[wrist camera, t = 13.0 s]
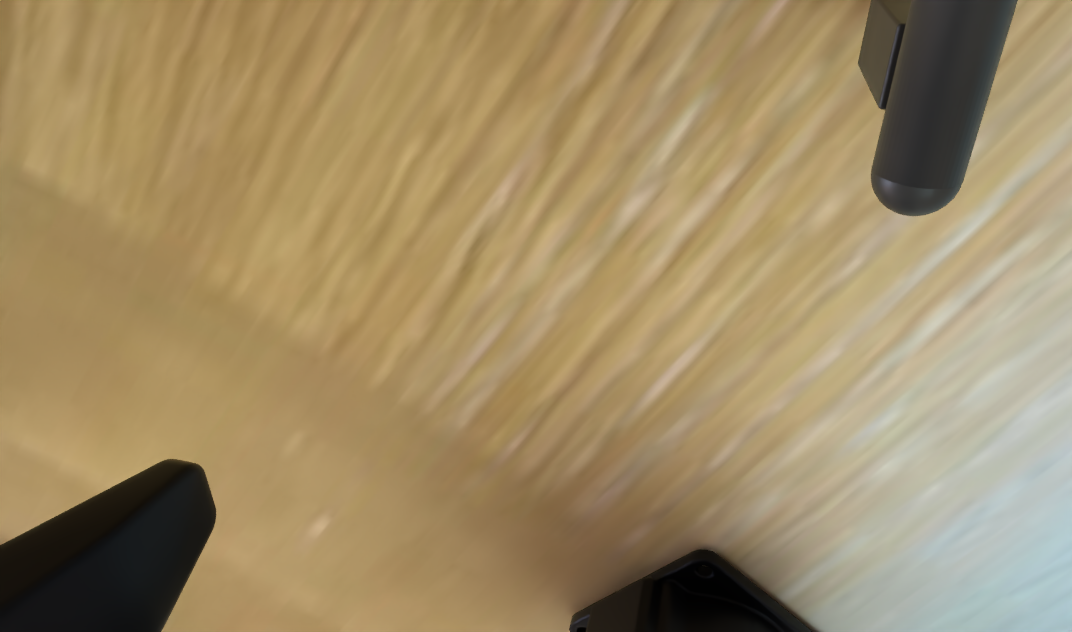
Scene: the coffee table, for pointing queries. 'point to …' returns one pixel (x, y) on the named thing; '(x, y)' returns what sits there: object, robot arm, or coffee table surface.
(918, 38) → the ladle
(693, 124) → the coffee table surface
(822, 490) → the coffee table surface
